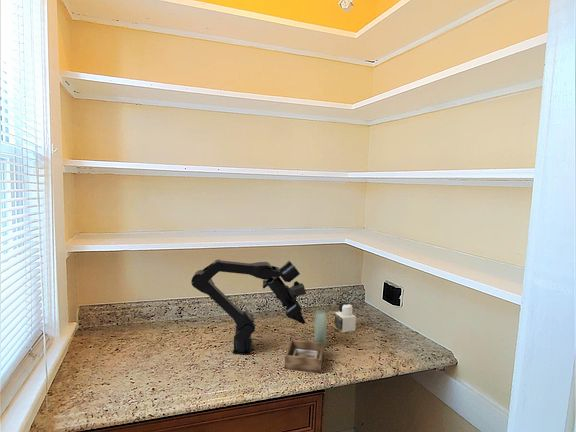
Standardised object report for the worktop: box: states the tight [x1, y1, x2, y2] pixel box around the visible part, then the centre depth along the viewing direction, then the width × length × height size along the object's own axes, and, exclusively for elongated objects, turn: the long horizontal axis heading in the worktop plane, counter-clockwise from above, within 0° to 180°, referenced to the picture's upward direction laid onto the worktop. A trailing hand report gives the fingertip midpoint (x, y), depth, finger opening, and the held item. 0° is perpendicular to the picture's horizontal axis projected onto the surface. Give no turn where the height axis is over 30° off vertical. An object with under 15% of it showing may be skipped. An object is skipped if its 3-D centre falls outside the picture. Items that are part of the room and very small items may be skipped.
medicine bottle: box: [334, 302, 357, 334], centre depth 161 cm, size 7×7×12 cm
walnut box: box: [284, 339, 325, 374], centre depth 131 cm, size 13×13×5 cm
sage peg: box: [313, 310, 328, 349], centre depth 144 cm, size 5×5×14 cm
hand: (302, 318), depth 141 cm, fingers open, 9 cm apart
